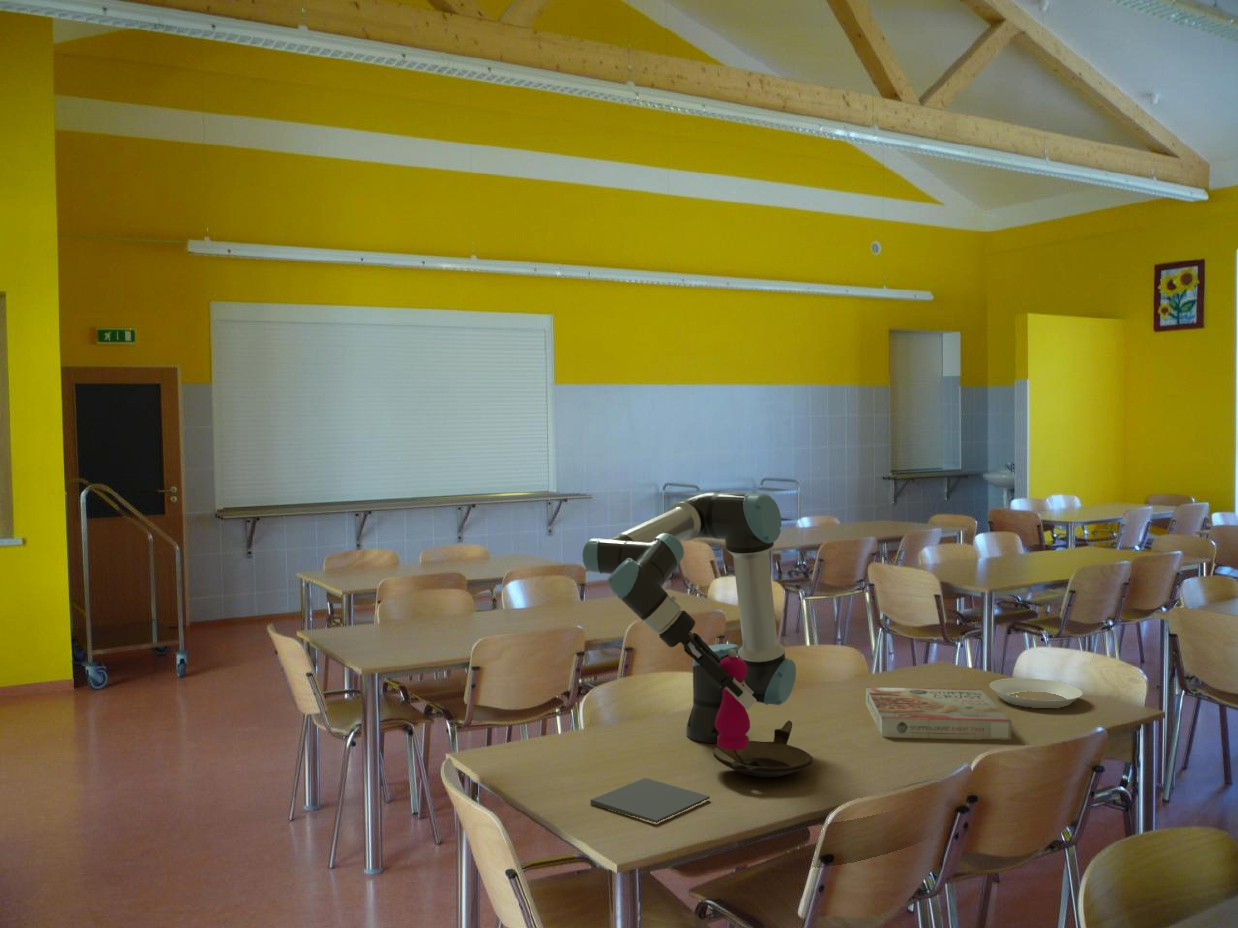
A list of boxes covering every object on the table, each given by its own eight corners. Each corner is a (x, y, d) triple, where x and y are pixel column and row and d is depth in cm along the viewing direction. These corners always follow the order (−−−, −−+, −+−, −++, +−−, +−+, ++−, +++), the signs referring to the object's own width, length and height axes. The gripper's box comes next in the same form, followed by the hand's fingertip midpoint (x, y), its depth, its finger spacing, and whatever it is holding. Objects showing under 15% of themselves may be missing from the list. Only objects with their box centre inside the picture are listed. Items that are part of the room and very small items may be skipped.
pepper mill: (722, 752, 214) (722, 654, 213) (709, 741, 221) (709, 646, 220) (755, 749, 216) (755, 651, 215) (742, 738, 223) (742, 644, 222)
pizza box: (882, 718, 271) (865, 686, 303) (882, 738, 271) (865, 705, 303) (1011, 721, 268) (981, 689, 300) (1011, 742, 268) (981, 707, 300)
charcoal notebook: (590, 804, 225) (590, 799, 225) (645, 782, 238) (645, 777, 238) (656, 825, 213) (656, 820, 213) (709, 800, 226) (709, 796, 226)
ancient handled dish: (690, 773, 244) (690, 740, 244) (776, 746, 264) (776, 716, 264) (764, 799, 227) (764, 764, 227) (849, 768, 247) (850, 736, 247)
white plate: (971, 693, 314) (971, 681, 313) (1042, 687, 321) (1042, 675, 321) (1027, 716, 290) (1028, 703, 290) (1102, 708, 297) (1102, 695, 297)
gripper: (684, 617, 208) (768, 700, 208) (681, 601, 226) (758, 676, 227) (657, 644, 208) (741, 726, 209) (656, 625, 227) (733, 701, 227)
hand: (750, 700), depth 218 cm, fingers closed on pepper mill, 5 cm apart
